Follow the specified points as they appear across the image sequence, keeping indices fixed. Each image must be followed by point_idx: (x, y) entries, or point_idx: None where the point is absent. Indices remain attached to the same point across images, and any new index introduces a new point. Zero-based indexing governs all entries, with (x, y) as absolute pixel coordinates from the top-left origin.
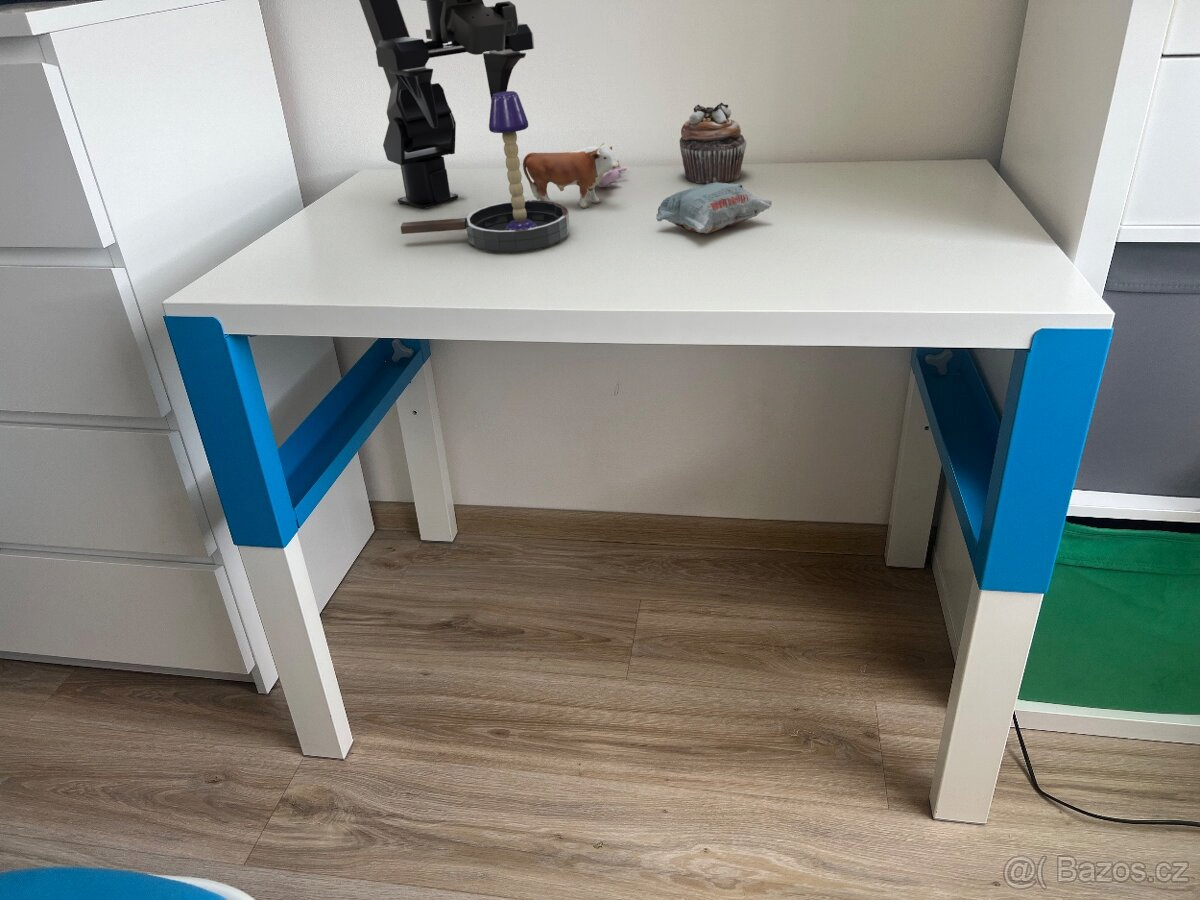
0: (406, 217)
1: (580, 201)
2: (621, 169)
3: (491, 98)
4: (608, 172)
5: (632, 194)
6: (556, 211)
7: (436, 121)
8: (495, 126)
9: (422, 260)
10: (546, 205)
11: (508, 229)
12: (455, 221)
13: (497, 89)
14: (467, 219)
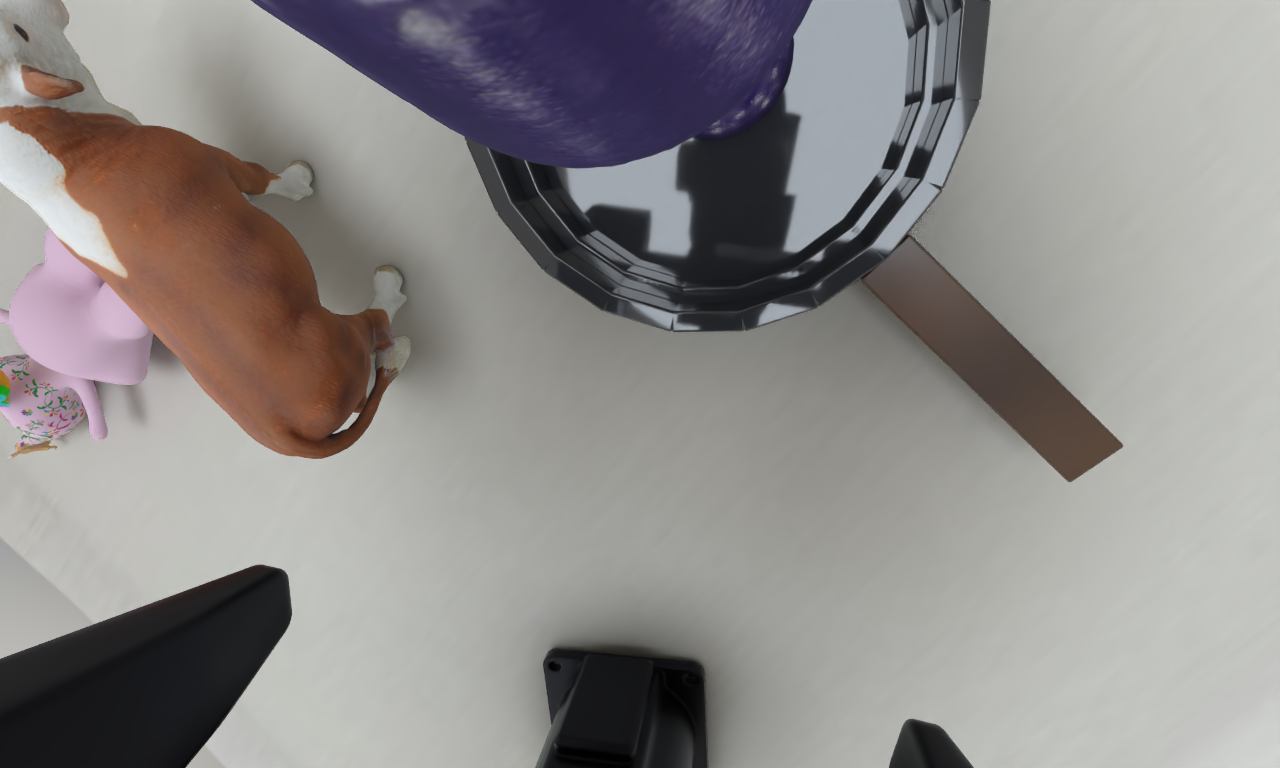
0: (795, 659)
1: (297, 184)
2: (3, 312)
3: (193, 747)
4: None
5: None
6: None
7: (937, 757)
8: None
9: (1181, 205)
10: None
11: (782, 55)
12: (930, 278)
13: (64, 739)
14: (887, 239)
